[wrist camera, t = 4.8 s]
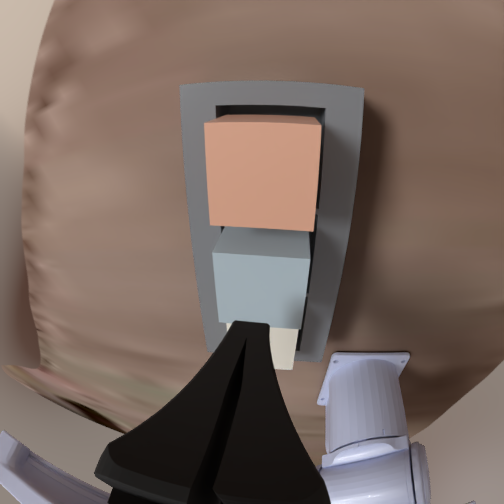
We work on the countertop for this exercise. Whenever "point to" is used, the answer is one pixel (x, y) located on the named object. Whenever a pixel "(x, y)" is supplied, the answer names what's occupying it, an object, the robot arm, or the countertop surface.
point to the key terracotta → (262, 171)
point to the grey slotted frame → (328, 191)
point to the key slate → (261, 275)
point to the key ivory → (281, 346)
